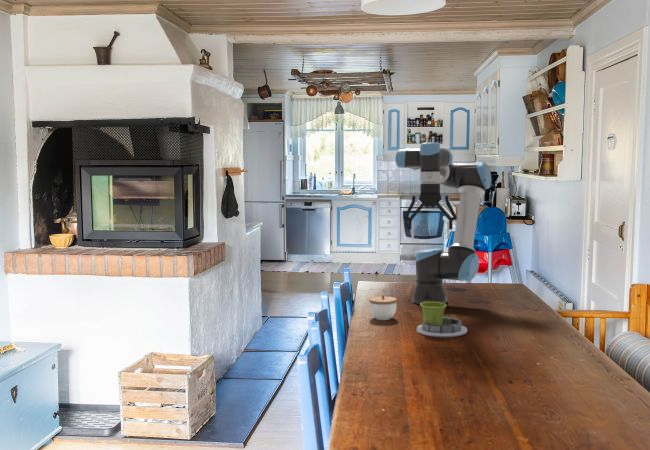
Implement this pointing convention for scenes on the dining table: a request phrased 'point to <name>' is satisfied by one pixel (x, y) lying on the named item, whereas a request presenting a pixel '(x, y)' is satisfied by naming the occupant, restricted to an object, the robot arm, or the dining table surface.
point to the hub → (443, 328)
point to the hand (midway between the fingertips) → (430, 238)
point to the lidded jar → (383, 307)
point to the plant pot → (433, 312)
